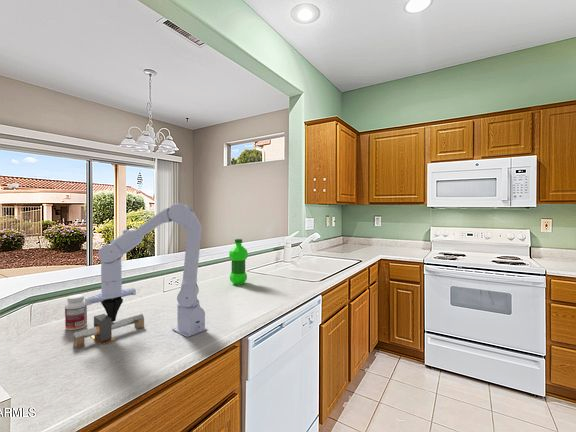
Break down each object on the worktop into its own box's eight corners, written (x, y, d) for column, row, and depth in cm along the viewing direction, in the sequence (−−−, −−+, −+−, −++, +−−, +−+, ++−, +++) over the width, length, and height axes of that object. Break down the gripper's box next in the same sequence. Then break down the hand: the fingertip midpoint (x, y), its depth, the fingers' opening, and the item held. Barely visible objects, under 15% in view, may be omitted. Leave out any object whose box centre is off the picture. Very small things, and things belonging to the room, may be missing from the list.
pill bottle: (72, 323, 104) (72, 293, 104) (90, 323, 105) (90, 293, 105) (60, 331, 98) (60, 299, 98) (80, 330, 99) (79, 298, 98)
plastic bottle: (232, 281, 167) (232, 238, 166) (249, 281, 165) (250, 238, 165) (226, 285, 157) (226, 240, 156) (244, 286, 155) (245, 240, 155)
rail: (136, 323, 106) (136, 311, 105) (148, 329, 100) (148, 316, 100) (70, 342, 90) (70, 328, 90) (80, 351, 84) (79, 337, 84)
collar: (104, 333, 96) (104, 313, 96) (111, 338, 92) (111, 318, 92) (94, 336, 94) (93, 316, 93) (101, 341, 90) (100, 320, 90)
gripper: (129, 274, 103) (129, 312, 103) (81, 282, 91) (81, 324, 92) (138, 277, 98) (138, 316, 99) (89, 286, 87) (89, 330, 87)
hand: (111, 321), depth 95 cm, fingers closed
